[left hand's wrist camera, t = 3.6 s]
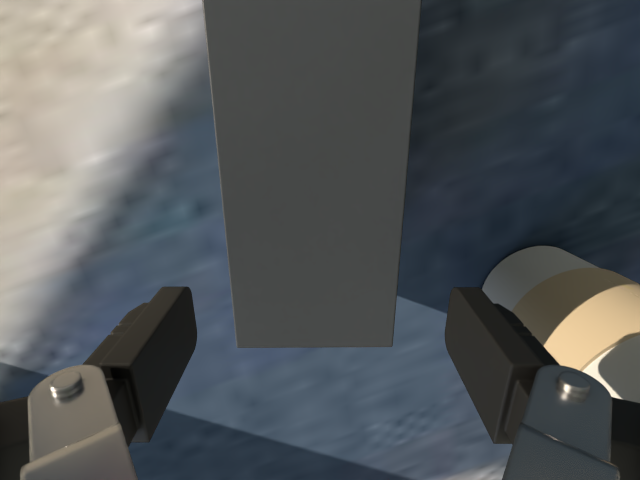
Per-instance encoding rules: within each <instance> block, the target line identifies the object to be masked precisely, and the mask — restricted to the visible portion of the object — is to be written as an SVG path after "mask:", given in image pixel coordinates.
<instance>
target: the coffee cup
mask: <svg viewBox="0 0 640 480" xmlns="http://www.w3.org/2000/svg"><path fill="white" fill-rule="evenodd" d="M482 290H483V292H484V293H485V294H486V295H487V296H488V298H489V299H490V300H491V301H492V302H493V303H498V304H500V305H502V306H503V307H505V308H506V309H508V310H510V311H511V312H513V313H514V314H515V315H516V316H517V317H518V318H519V319H520V321H521V322H522V323H523V324H524V326H526V327H527V328H528V330H529V331H530V332H531V333H532V336H535V337H536V339H537V340H538V341H539V342H540V343H541V344H542V345H543V346H544V348H545V349H546V350H547V351H548V352H549V353H550V354H551V355H552V357H553V358H554V359H555V360H556V361H557V362H558V363H559V364H560V365H562V366H567V367H571V368H574V369H577V370H580V371H582V372H584V373H586V374H588V375H590V376H592V377H593V378H595V379H596V380H598V381H599V382H600V383H601V384H603V385H604V386H605V388H606V389H607V390H608V391H609V393H610V394H611V397H614V398H619V399H623V400H628V401H632V402H637V403H640V284H638V283H636V282H634V281H632V280H630V279H628V278H626V277H624V276H622V275H620V274H618V273H616V272H613V271H610V270H606V269H601V268H599V267H597V266H595V265H593V264H591V263H589V262H587V261H585V260H583V259H581V258H579V257H577V256H575V255H573V254H571V253H569V252H566V251H564V250H562V249H560V248H557V247H552V246H535V247H529V248H526V249H523V250H520V251H518V252H515V253H513V254H512V255H510V256H508V257H507V258H505V259H504V260H503V261H501V262H500V263H499V264H498V265H497V266H496V267H495V268H494V269H493V270H492V271H491V273H490V274H489V275H488V277H487V279H486V281H485V283H484V285H483V288H482Z"/></svg>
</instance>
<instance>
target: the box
mask: <svg viewBox="0 0 640 480" xmlns="http://www.w3.org/2000/svg"><path fill="white" fill-rule="evenodd" d="M202 3H203V13H204V23H205V33H206V43H207V53H208V63H209V73H210V84H211V94H212V104H213V114H214V124H215V134H216V144H217V154H218V164H219V174H220V184H221V194H222V204H223V214H224V224H225V234H226V245H227V255H228V265H229V275H230V285H231V295H232V305H233V315H234V325H235V335H236V345H237V348H283V347H392V345H393V334H394V322H395V310H396V298H397V287H398V275H399V263H400V251H401V239H402V228H403V216H404V204H405V192H406V181H407V169H408V157H409V145H410V133H411V122H412V110H413V98H414V86H415V74H416V63H417V51H418V39H419V27H420V15H421V4H422V0H202Z"/></svg>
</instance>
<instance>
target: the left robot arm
mask: <svg viewBox="0 0 640 480" xmlns="http://www.w3.org/2000/svg"><path fill="white" fill-rule="evenodd" d="M196 341H197V328H196V321H195V314H194V307H193V300H192V293H191V290H190V288H189V287H162V288H161V289H160V290H159V291H158V292H157V294H156V295H155V296H154V297H153V298H152V300H151V301H150V302H149V303H143V304H141V305H140V306H138V307H136V308H135V309H133V310H131V311H130V312H128V314H127V315H126V316H125V317H124V318H123V319H122V320H121V321H120V323H119V326H116V327H115V328H114V329H113V331H112V332H111V335H108V336H107V337H106V338H105V340H104V341H103V342H102V343H101V344H100V345H99V346H98V348H97V349H96V350H95V351H94V352H93V353H92V354H91V355H90V357H89V358H88V359H87V360H86V361H85V362H84V363H83V365H78V366H73V367H69V368H66V369H63V370H60V371H58V372H56V373H54V374H52V375H50V376H48V377H47V378H45V379H44V380H42V381H41V382H40V383H39V384H37V385H36V386H35V388H34V389H33V390H32V391H31V393H30V394H29V396H28V397H23V398H19V399H14V400H10V401H5V402H0V480H138V478H137V475H136V472H135V469H134V465H133V462H132V459H131V456H130V453H129V449H128V447H129V445H130V443H131V442H149V441H150V439H151V437H152V435H153V433H154V431H155V429H156V427H157V425H158V423H159V421H160V419H161V417H162V415H163V413H164V411H165V409H166V407H167V405H168V403H169V401H170V399H171V397H172V395H173V393H174V391H175V389H176V387H177V385H178V383H179V381H180V378H181V376H182V374H183V372H184V370H185V368H186V366H187V364H188V362H189V360H190V358H191V356H192V354H193V352H194V350H195V346H196ZM445 343H446V348H447V351H448V353H449V355H450V357H451V359H452V361H453V363H454V365H455V367H456V369H457V371H458V373H459V375H460V377H461V379H462V381H463V383H464V385H465V387H466V389H467V391H468V393H469V395H470V397H471V399H472V401H473V403H474V405H475V407H476V409H477V411H478V413H479V415H480V417H481V419H482V421H483V423H484V425H485V427H486V429H487V431H488V433H489V435H490V437H491V439H492V441H493V443H494V444H512V445H513V446H512V449H511V453H510V456H509V459H508V462H507V465H506V469H505V472H504V475H503V478H502V480H640V403H637V402H632V401H628V400H623V399H619V398H614V397H611V394H610V393H609V391H608V390H607V389H606V388H605V386H604V385H603V384H601V383H600V382H599V381H598V380H596V379H595V378H593V377H592V376H590V375H588V374H586V373H584V372H582V371H580V370H577V369H574V368H571V367H567V366H562V365H560V364H559V363H558V362H557V361H556V360H555V359H554V358H553V357H552V355H551V354H550V353H549V352H548V351H547V350H546V349H545V348H544V346H543V345H542V344H541V343H540V342H539V341H538V340H537V339H536V337H535V336H532V333H531V332H530V331H529V330H528V328H527V327H526V326H524V324H523V323H522V322H521V321H520V319H519V318H518V317H517V316H516V315H515V314H514V313H513V312H511V311H510V310H508V309H506V308H505V307H503V306H502V305H500V304H498V303H493V302H492V301H491V300H490V299H489V298H488V296H487V295H486V294H485V293H484V292H483V290H482V289H481V288H479V287H454V288H453V289H452V291H451V294H450V300H449V307H448V314H447V320H446V327H445Z"/></svg>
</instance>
